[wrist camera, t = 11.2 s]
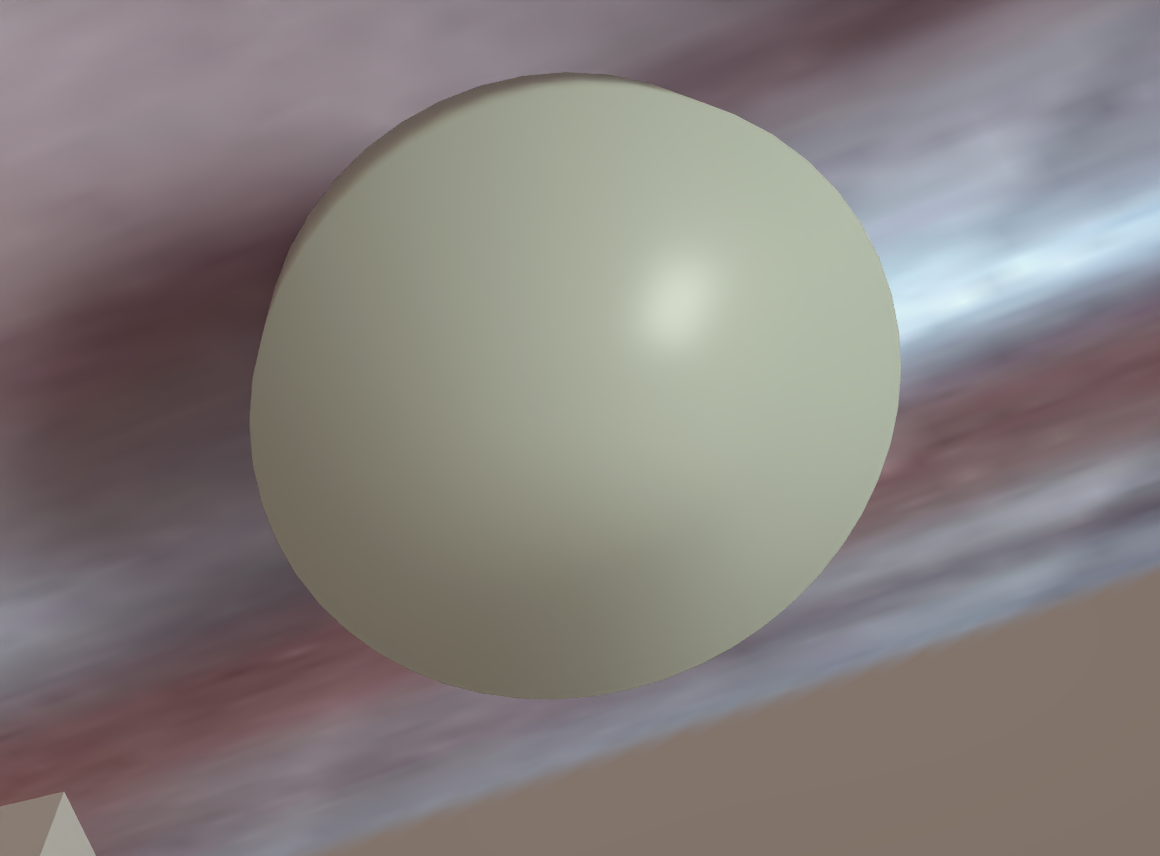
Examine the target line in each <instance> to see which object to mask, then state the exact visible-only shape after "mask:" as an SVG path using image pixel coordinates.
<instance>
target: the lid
mask: <svg viewBox="0 0 1160 856" xmlns="http://www.w3.org/2000/svg"><path fill="white" fill-rule="evenodd" d="M900 377H901V361H900V342H899V330H898V325H897V319H896V314H895V309H894V304H893V299H892V294H891V291H890V288H889V285H888V282H887V280H886V277H885V274H884V271H883V268H882V265H881V262H880V259H879V257H878V255H877V253H876V251H875V249H874V247H873V245H872V243H871V242H870V240H869V238H868V236H867V234H866V232H865V230H864V228H863V226H862V224H861V222H860V221H859V220H858V218H857V217H856V216H855V214H854V213H853V211H852V210H851V209H850V207H849V206H848V205H847V203H846V202H845V200H844V199H843V198H842V196H841V195H840V194H839V192H838V191H837V190H836V189H835V188H834V187H833V186H832V185H831V184H830V183H829V182H828V181H827V180H826V179H825V178H824V177H823V176H822V175H821V173H820V172H819V171H818V170H817V169H816V168H815V167H814V166H813V165H812V164H811V163H810V162H809V161H808V160H806V159H805V158H804V157H802V156H801V155H800V154H798V153H797V152H795V151H794V150H793V149H791V148H790V147H789V146H787V145H786V144H785V143H783V142H782V141H781V140H779V139H778V138H777V137H775V136H774V135H772V134H770V133H768V132H767V131H765V130H763V129H761V128H759V127H757V126H755V125H753V124H752V123H750V122H748V121H746V120H744V119H742V118H740V117H738V116H737V115H735V114H732V113H729V112H727V111H724V110H721V109H719V108H716V107H713V106H711V105H708V104H705V103H703V102H700V101H697V100H695V99H692V98H689V97H687V96H684V95H681V94H678V93H675V92H673V91H670V90H667V89H664V88H661V87H658V86H656V85H653V84H650V83H647V82H642V81H637V80H632V79H627V78H622V77H617V76H612V75H605V74H587V73H568V72H563V73H552V74H541V75H529V76H521V77H516V78H512V79H508V80H503V81H499V82H495V83H490V84H486V85H482V86H479V87H476V88H473V89H471V90H468V91H465V92H463V93H460V94H458V95H455V96H452V97H450V98H447V99H445V100H442V101H439V102H438V103H436V104H434V105H432V106H430V107H428V108H427V109H425V110H423V111H421V112H419V113H418V114H416V115H414V116H412V117H410V118H408V119H407V120H405V121H403V122H401V123H400V124H399V125H397V126H396V127H395V128H393V129H392V130H390V131H389V132H388V133H386V134H385V135H384V136H382V137H381V138H380V139H378V140H377V141H376V142H374V143H373V144H372V145H370V146H369V147H368V148H366V149H365V150H364V151H363V152H362V153H361V154H360V155H359V156H358V157H357V158H356V159H355V160H354V161H353V162H352V163H351V164H350V165H349V166H348V167H347V168H346V169H345V170H344V171H343V172H342V173H341V174H340V175H339V176H338V177H337V178H336V179H335V180H334V182H333V183H332V184H331V186H330V187H329V188H328V189H327V191H326V192H325V193H324V195H323V196H322V197H321V199H320V200H319V201H318V203H317V204H316V205H315V207H314V208H313V209H312V210H311V212H310V213H309V215H308V217H307V219H306V220H305V222H304V224H303V226H302V228H301V229H300V231H299V233H298V235H297V236H296V238H295V240H294V242H293V244H292V245H291V247H290V249H289V252H288V254H287V257H286V259H285V262H284V264H283V267H282V270H281V272H280V275H279V277H278V280H277V283H276V285H275V288H274V292H273V296H272V300H271V304H270V307H269V311H268V315H267V319H266V323H265V327H264V330H263V334H262V339H261V343H260V347H259V352H258V356H257V361H256V365H255V369H254V374H253V379H252V392H251V405H250V419H249V423H250V437H251V450H252V463H253V468H254V472H255V476H256V481H257V485H258V489H259V494H260V498H261V502H262V505H263V508H264V510H265V513H266V515H267V518H268V520H269V523H270V525H271V528H272V531H273V533H274V536H275V538H276V540H277V542H278V544H279V546H280V547H281V549H282V551H283V553H284V554H285V556H286V558H287V560H288V561H289V563H290V565H291V567H292V568H293V570H294V572H295V573H296V575H297V576H298V577H299V579H300V580H301V581H302V582H303V584H304V585H305V586H306V588H307V589H308V590H309V591H310V593H311V594H312V595H313V596H314V598H315V599H316V600H317V601H318V603H319V604H320V605H321V606H322V607H323V608H324V609H325V610H326V611H327V612H328V613H329V614H330V615H332V616H333V617H334V618H335V619H336V620H337V621H338V622H339V623H340V624H341V625H342V626H343V627H344V628H345V629H346V630H347V631H349V632H350V633H351V634H353V635H354V636H356V637H357V638H358V639H360V640H361V641H362V642H364V643H365V644H367V645H368V646H369V647H371V648H372V649H373V650H375V651H376V652H378V653H379V654H381V655H383V656H385V657H387V658H389V659H391V660H392V661H394V662H396V663H398V664H400V665H402V666H403V667H405V668H407V669H409V670H411V671H414V672H416V673H419V674H421V675H424V676H426V677H429V678H431V679H434V680H437V681H439V682H442V683H444V684H448V685H451V686H455V687H459V688H463V689H467V690H471V691H475V692H479V693H483V694H491V695H498V696H505V697H512V698H525V699H565V698H578V697H590V696H597V695H602V694H607V693H613V692H618V691H623V690H629V689H632V688H636V687H639V686H642V685H646V684H649V683H653V682H656V681H659V680H663V679H666V678H668V677H671V676H673V675H676V674H678V673H680V672H683V671H685V670H688V669H690V668H693V667H695V666H697V665H700V664H702V663H704V662H705V661H707V660H709V659H711V658H713V657H715V656H717V655H719V654H720V653H722V652H724V651H726V650H728V649H730V648H732V647H733V646H735V645H736V644H738V643H739V642H741V641H742V640H744V639H745V638H747V637H748V636H750V635H751V634H753V633H754V632H756V631H757V630H759V629H760V628H762V627H763V626H764V625H766V624H767V623H768V622H769V621H770V620H772V619H773V618H774V617H775V616H777V615H778V614H779V613H780V612H781V611H783V610H784V609H785V608H786V607H787V606H789V605H790V604H791V603H792V602H793V601H794V600H795V599H796V598H797V597H798V596H799V595H800V594H801V593H802V592H803V591H804V590H805V589H806V588H807V587H808V586H809V585H810V584H811V583H812V582H813V581H814V580H815V579H816V578H817V577H818V576H819V574H820V573H821V572H822V571H823V569H824V568H825V567H826V566H827V564H828V563H829V562H830V560H831V559H832V558H833V557H834V555H835V554H836V553H837V552H838V550H839V549H840V548H841V547H842V545H843V544H844V542H845V540H846V539H847V537H848V536H849V534H850V532H851V531H852V529H853V528H854V526H855V524H856V523H857V521H858V520H859V518H860V516H861V515H862V513H863V511H864V509H865V507H866V505H867V502H868V500H869V498H870V496H871V494H872V492H873V490H874V488H875V486H876V484H877V482H878V479H879V476H880V473H881V470H882V467H883V464H884V462H885V459H886V456H887V453H888V450H889V447H890V443H891V439H892V434H893V429H894V424H895V420H896V415H897V410H898V401H899V389H900Z"/></svg>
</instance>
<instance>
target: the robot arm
mask: <svg viewBox="0 0 1160 856" xmlns="http://www.w3.org/2000/svg"><path fill="white" fill-rule="evenodd" d="M0 856H96V855H95V853H94V851H93V849H92V847H91V845H90V843H89V841H88V839H87V837H86V835H85V833H84V831H83V829H82V827H81V825H80V823H79V821H78V819H77V817H76V815H75V813H74V811H73V808H72V806H71V804H70V802H69V800H68V798H67V796H66V794H65V792H60V793H56V794H52V795H47V796H43V797H39V798H35V799H30V800H26V801H22V802H18V803H14V804H9V805H5V806H1V807H0Z"/></svg>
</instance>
